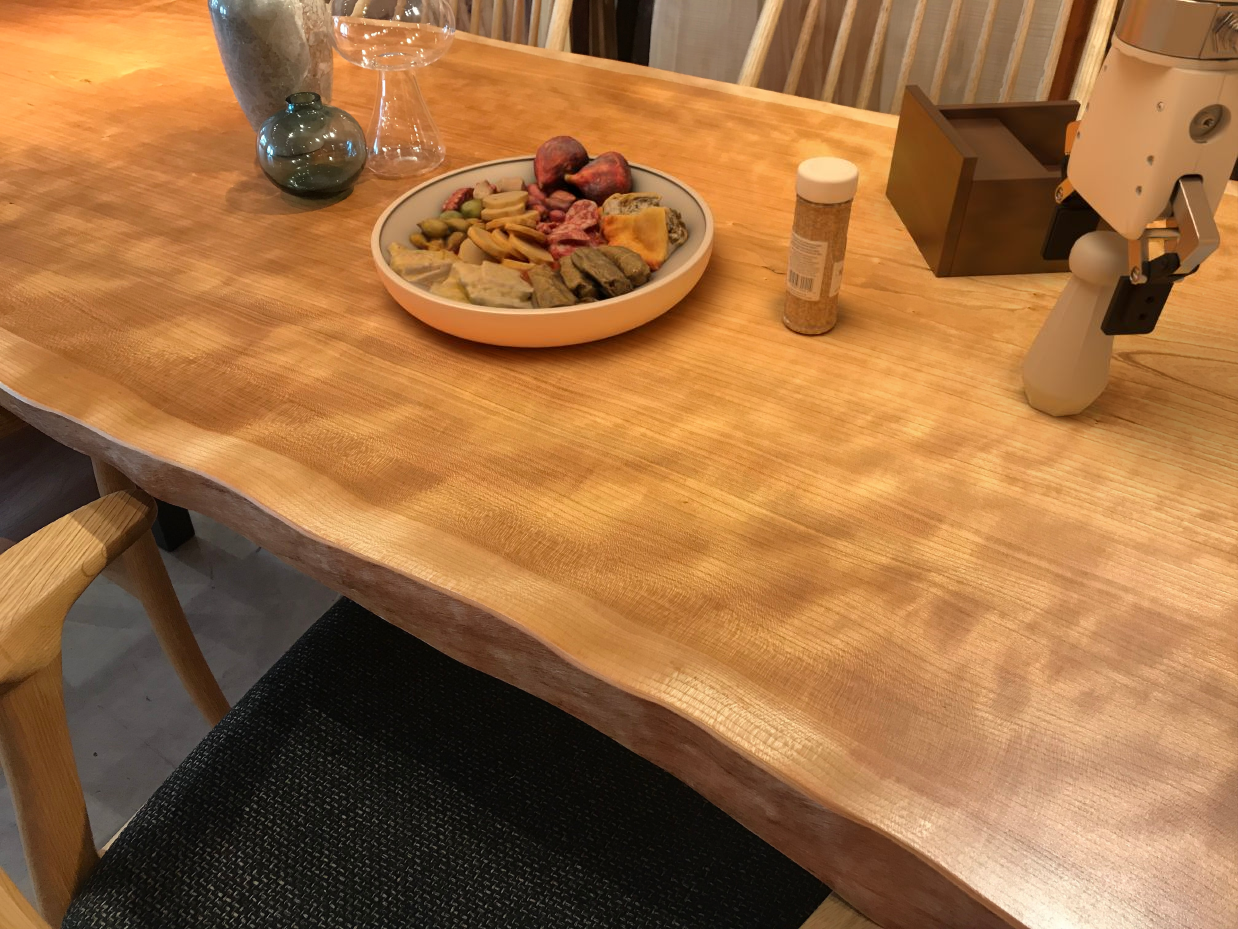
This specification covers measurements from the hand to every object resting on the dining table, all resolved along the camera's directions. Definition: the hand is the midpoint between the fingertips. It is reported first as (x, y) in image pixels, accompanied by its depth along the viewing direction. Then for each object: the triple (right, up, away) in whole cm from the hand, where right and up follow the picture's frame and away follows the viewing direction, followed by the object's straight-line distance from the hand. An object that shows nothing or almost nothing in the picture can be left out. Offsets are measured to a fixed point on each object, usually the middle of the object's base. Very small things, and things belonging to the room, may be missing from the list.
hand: (1091, 292), depth 62 cm
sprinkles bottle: (-16, 0, +15) cm, 22 cm away
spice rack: (+5, +11, +26) cm, 29 cm away
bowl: (-39, +6, +22) cm, 45 cm away
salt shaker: (0, -7, +6) cm, 9 cm away
